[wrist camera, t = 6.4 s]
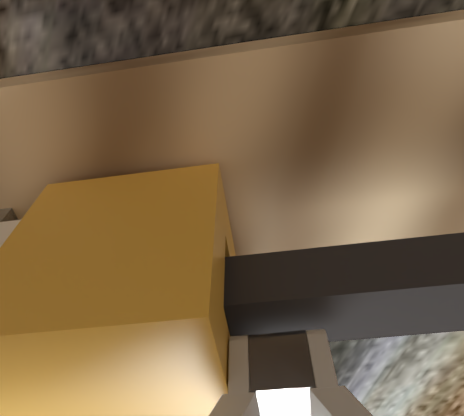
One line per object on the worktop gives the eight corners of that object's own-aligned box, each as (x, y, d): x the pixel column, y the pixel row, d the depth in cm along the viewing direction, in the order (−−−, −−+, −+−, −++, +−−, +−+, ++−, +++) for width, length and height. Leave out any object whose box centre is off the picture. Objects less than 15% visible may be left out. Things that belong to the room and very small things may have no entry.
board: (820, -44, 11) (877, -42, 10) (624, 282, 18) (646, 302, 17) (-123, 97, 13) (-151, 109, 12) (37, 335, 21) (27, 355, 20)
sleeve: (218, 163, 13) (208, 317, 8) (242, 295, 17) (246, 461, 11) (47, 184, 14) (-71, 342, 8) (106, 307, 17) (50, 472, 12)
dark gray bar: (827, 194, 11) (931, 240, 9) (781, 248, 12) (867, 296, 11) (-33, 283, 13) (-71, 333, 12) (-5, 321, 14) (-36, 371, 13)
